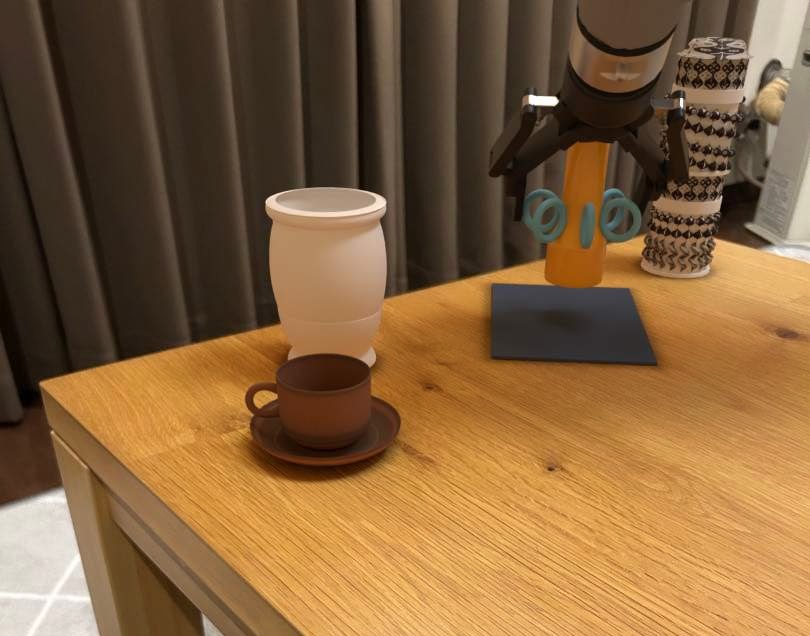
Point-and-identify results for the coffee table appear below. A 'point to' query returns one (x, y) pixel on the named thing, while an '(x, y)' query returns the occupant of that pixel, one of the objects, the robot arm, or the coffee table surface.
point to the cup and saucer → (322, 412)
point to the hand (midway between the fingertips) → (576, 211)
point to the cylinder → (580, 219)
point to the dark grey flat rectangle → (568, 325)
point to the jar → (328, 269)
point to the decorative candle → (698, 158)
